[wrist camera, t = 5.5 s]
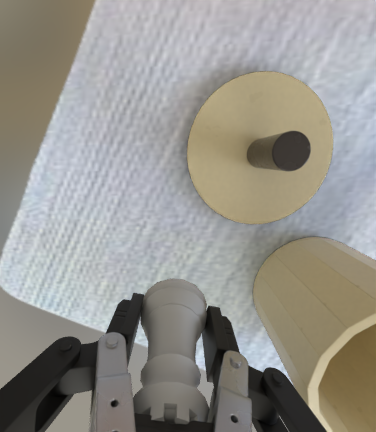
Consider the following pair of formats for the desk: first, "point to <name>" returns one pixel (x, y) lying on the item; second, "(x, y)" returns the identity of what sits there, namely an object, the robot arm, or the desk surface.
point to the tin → (324, 327)
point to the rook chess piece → (172, 353)
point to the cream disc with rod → (260, 147)
